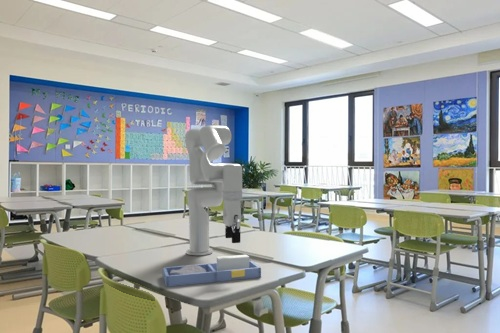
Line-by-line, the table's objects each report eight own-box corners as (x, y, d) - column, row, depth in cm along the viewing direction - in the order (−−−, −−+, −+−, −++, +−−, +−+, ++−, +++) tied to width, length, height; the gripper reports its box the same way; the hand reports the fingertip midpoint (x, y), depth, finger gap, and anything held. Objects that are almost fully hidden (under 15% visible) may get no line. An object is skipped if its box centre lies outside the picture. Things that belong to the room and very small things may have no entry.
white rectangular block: (216, 274, 149) (216, 256, 149) (246, 272, 153) (246, 254, 153) (219, 277, 145) (218, 259, 145) (249, 274, 149) (249, 256, 149)
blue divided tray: (162, 276, 147) (162, 267, 147) (250, 268, 158) (250, 259, 158) (166, 287, 134) (166, 276, 134) (261, 277, 145) (261, 267, 145)
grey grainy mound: (209, 282, 145) (191, 273, 151) (210, 269, 144) (192, 261, 151) (184, 290, 136) (167, 280, 142) (186, 277, 135) (168, 268, 142)
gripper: (217, 194, 156) (218, 236, 156) (228, 198, 139) (228, 245, 140) (235, 194, 158) (235, 235, 158) (248, 197, 142) (248, 244, 142)
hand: (232, 240), depth 149 cm, fingers open, 9 cm apart
